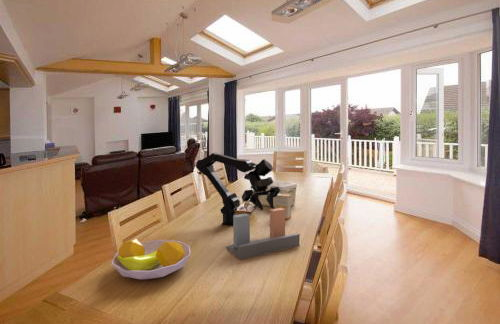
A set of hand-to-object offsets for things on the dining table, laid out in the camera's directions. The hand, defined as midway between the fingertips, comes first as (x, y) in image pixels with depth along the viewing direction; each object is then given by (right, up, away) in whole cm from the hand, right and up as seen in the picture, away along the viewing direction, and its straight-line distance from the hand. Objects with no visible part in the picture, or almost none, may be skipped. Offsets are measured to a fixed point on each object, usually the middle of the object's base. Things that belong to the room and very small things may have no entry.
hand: (267, 208), depth 136 cm
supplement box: (+10, -10, +28) cm, 32 cm away
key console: (-3, -14, -12) cm, 19 cm away
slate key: (-12, -13, -14) cm, 22 cm away
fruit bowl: (-43, -17, -32) cm, 56 cm away
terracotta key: (+4, -12, -6) cm, 14 cm away
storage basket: (+9, -6, +57) cm, 58 cm away
